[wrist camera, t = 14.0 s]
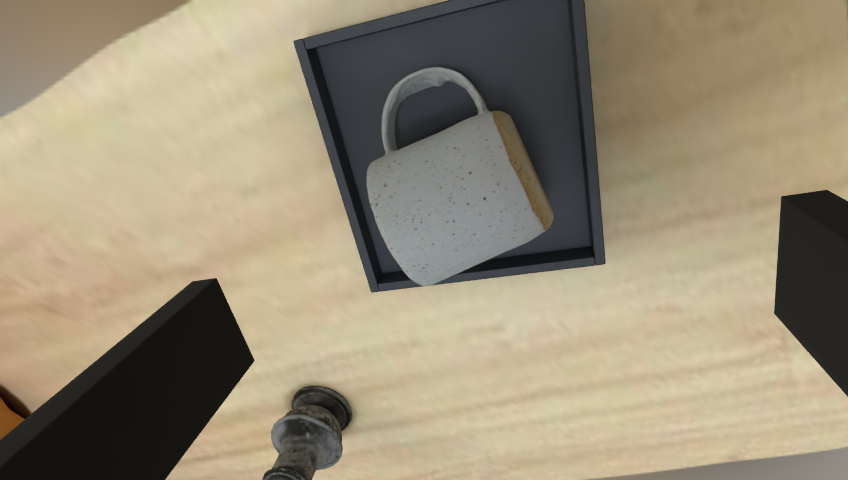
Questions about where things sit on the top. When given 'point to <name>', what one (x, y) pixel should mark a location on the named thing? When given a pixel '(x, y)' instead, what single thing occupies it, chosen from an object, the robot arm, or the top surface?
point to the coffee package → (8, 419)
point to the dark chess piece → (309, 434)
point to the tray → (466, 115)
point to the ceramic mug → (454, 188)
